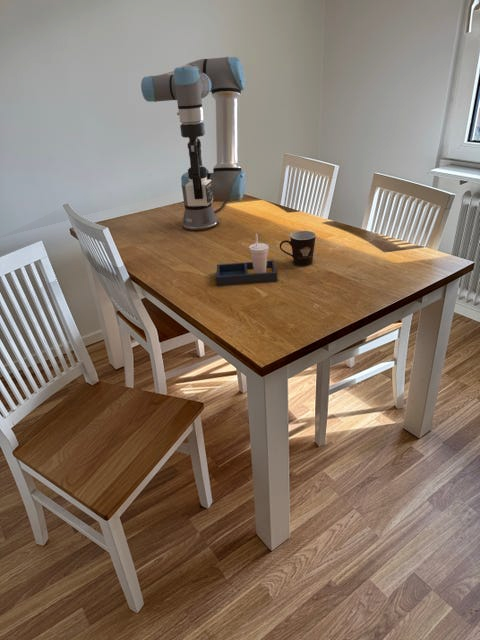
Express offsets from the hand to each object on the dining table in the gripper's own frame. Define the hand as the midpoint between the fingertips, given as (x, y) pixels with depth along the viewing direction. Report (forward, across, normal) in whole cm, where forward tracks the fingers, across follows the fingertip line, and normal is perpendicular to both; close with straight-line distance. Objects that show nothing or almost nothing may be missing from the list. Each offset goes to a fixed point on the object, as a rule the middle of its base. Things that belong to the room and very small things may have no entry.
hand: (199, 195), depth 154 cm
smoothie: (+23, +16, +19) cm, 34 cm away
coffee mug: (+24, +7, +32) cm, 41 cm away
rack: (+24, +16, +14) cm, 32 cm away
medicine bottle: (+3, 0, 0) cm, 3 cm away
